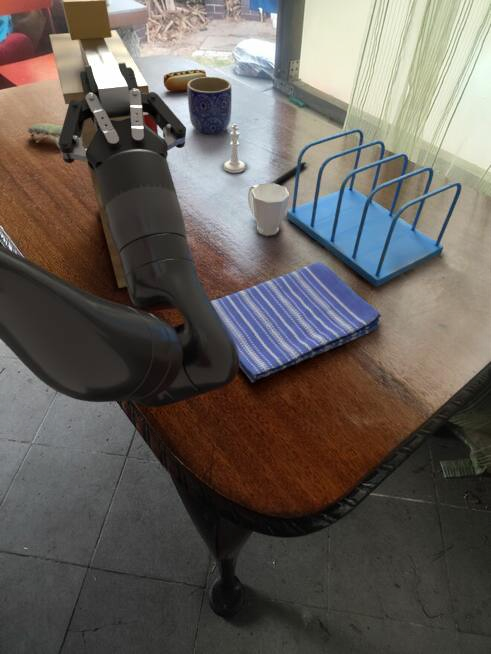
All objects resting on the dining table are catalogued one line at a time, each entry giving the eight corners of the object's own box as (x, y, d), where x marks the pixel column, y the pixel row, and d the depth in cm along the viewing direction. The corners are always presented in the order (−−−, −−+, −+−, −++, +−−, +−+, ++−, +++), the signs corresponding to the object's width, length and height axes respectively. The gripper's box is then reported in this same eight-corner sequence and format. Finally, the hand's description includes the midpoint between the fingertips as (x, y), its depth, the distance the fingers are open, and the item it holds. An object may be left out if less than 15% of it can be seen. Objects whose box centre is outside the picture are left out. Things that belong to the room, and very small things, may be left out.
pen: (307, 159, 106) (303, 160, 107) (267, 185, 97) (263, 186, 98) (308, 164, 106) (304, 165, 107) (269, 190, 98) (265, 191, 99)
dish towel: (383, 328, 71) (387, 315, 69) (252, 387, 62) (253, 375, 60) (319, 266, 81) (321, 254, 79) (198, 310, 73) (197, 297, 70)
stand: (172, 279, 78) (148, 85, 55) (113, 291, 75) (62, 93, 53) (143, 204, 94) (115, 29, 71) (94, 212, 91) (49, 34, 69)
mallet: (141, 114, 49) (131, 40, 44) (94, 120, 48) (78, 44, 43) (110, 52, 63) (100, -9, 58) (73, 55, 62) (59, -8, 57)
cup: (264, 244, 85) (266, 206, 79) (234, 219, 91) (234, 182, 85) (293, 232, 88) (297, 195, 82) (262, 208, 93) (265, 172, 88)
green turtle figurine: (34, 152, 106) (30, 129, 103) (29, 142, 114) (25, 120, 111) (73, 151, 110) (70, 129, 107) (66, 141, 117) (63, 120, 115)
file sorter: (285, 218, 91) (293, 143, 80) (348, 194, 98) (363, 122, 87) (375, 288, 77) (400, 209, 66) (441, 254, 84) (473, 178, 73)
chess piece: (232, 160, 108) (232, 117, 100) (249, 166, 106) (250, 123, 98) (219, 168, 105) (218, 124, 97) (236, 175, 103) (237, 131, 96)
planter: (205, 142, 114) (203, 95, 105) (181, 127, 119) (178, 82, 111) (239, 131, 118) (240, 86, 110) (215, 118, 124) (214, 73, 116)
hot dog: (209, 89, 138) (209, 72, 135) (168, 95, 134) (166, 77, 131) (203, 84, 141) (202, 66, 138) (162, 90, 137) (160, 72, 134)
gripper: (212, 178, 45) (168, 35, 48) (65, 202, 41) (28, 46, 44) (204, 215, 52) (167, 88, 55) (78, 237, 48) (46, 101, 52)
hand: (105, 70), depth 50 cm, fingers closed on mallet, 3 cm apart
